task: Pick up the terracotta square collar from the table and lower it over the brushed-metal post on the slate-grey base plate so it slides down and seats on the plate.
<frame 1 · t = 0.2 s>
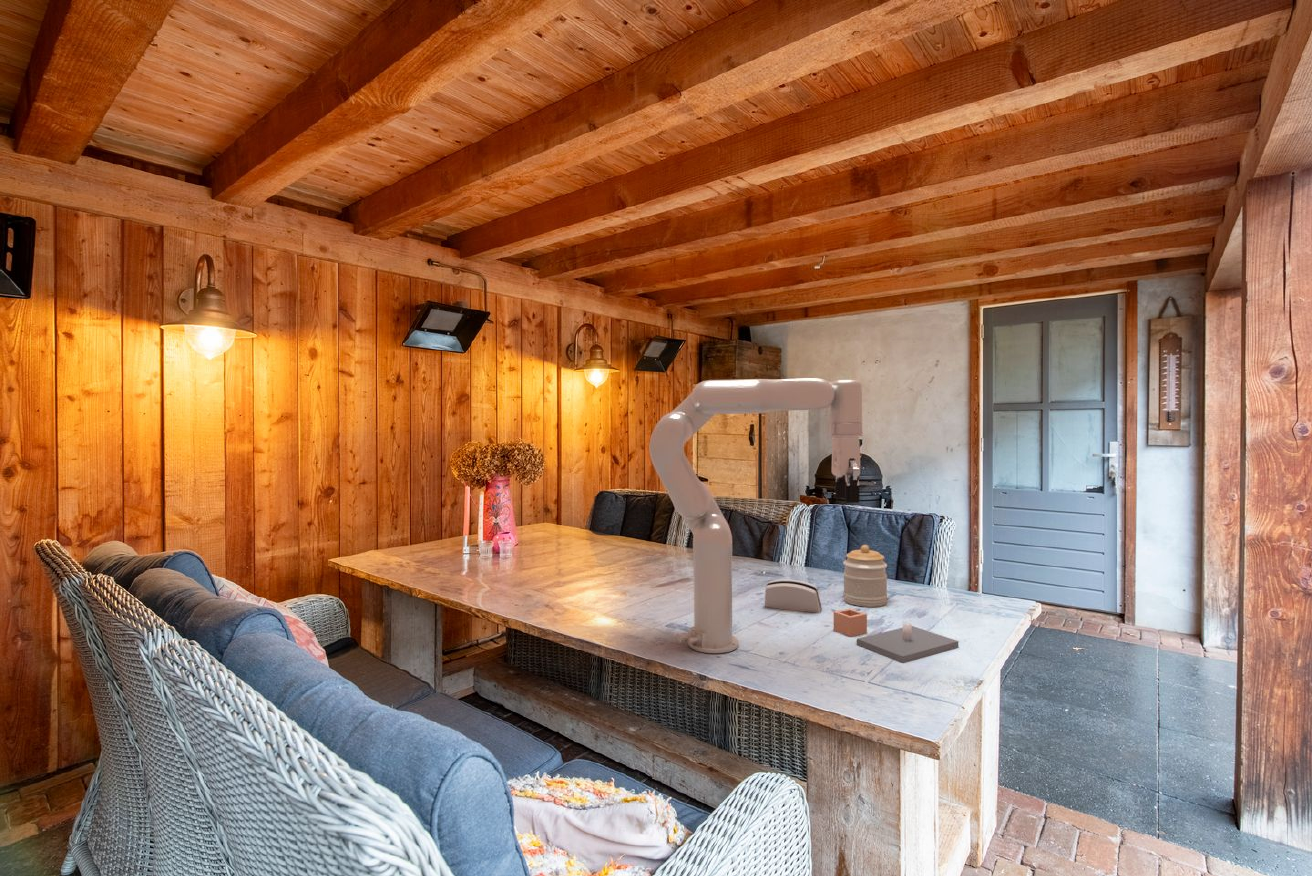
hand: (847, 499, 157), 37 cm above the table, tool pointing down, fingers open, 9 cm apart
post plate: (907, 646, 159), on the table
half-round card holder: (792, 609, 192), on the table
jar: (865, 602, 198), on the table
collar: (850, 631, 170), on the table
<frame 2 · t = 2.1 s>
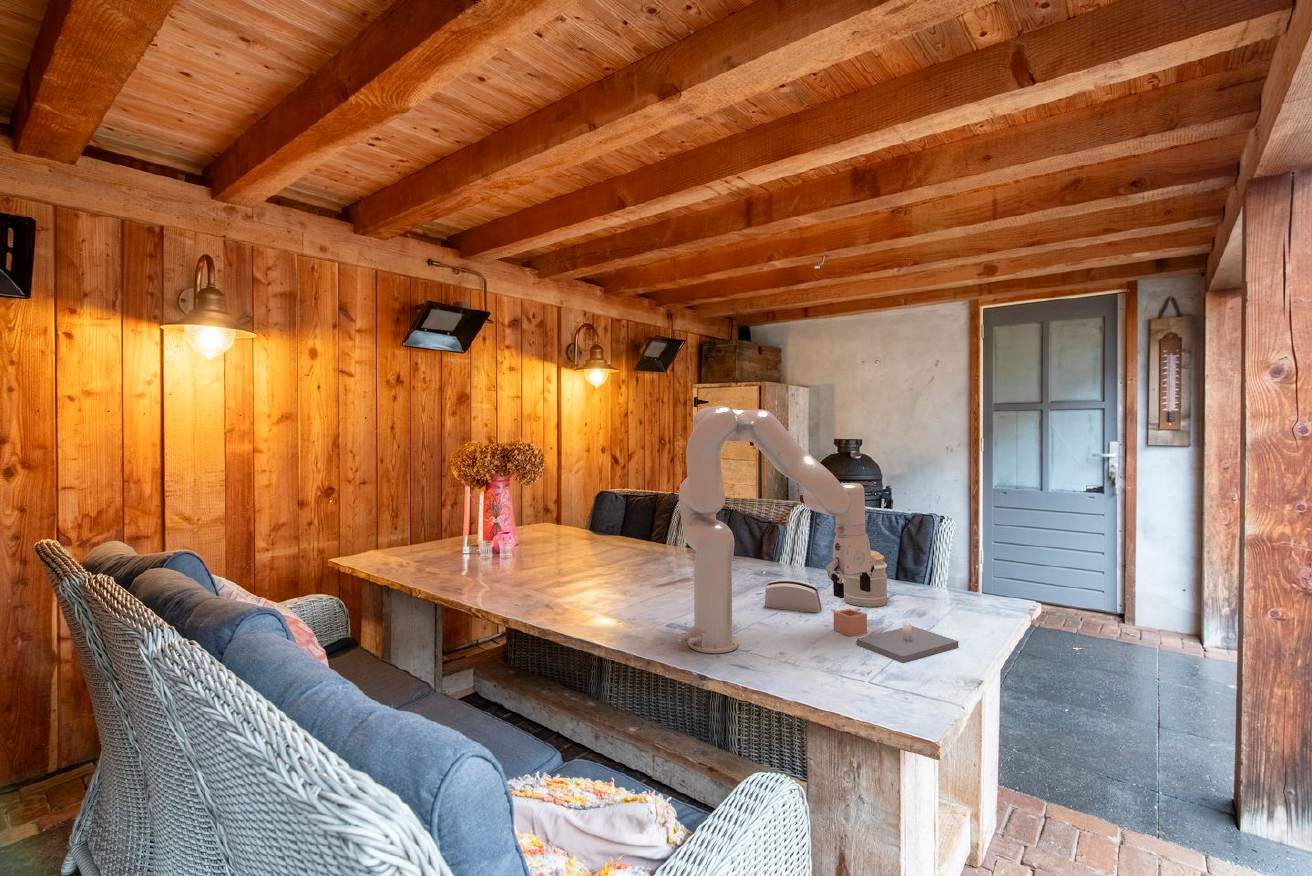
hand: (852, 594, 170), 10 cm above the table, tool pointing down, fingers open, 9 cm apart
nothing on the table moved.
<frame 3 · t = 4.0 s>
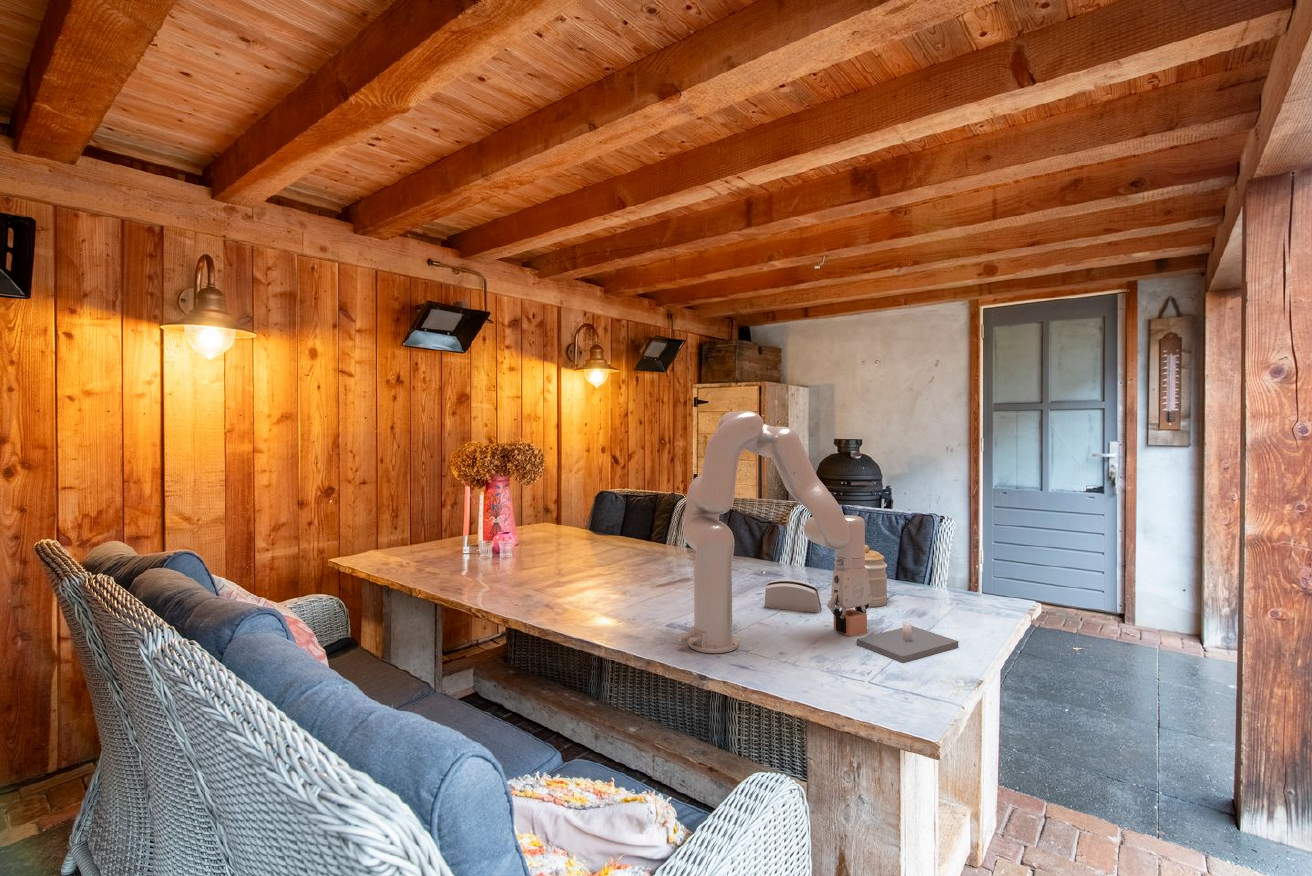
hand: (850, 629, 170), 1 cm above the table, tool pointing down, fingers closed on collar, 6 cm apart
collar: (850, 631, 170), on the table, touching gripper
everything else where it was.
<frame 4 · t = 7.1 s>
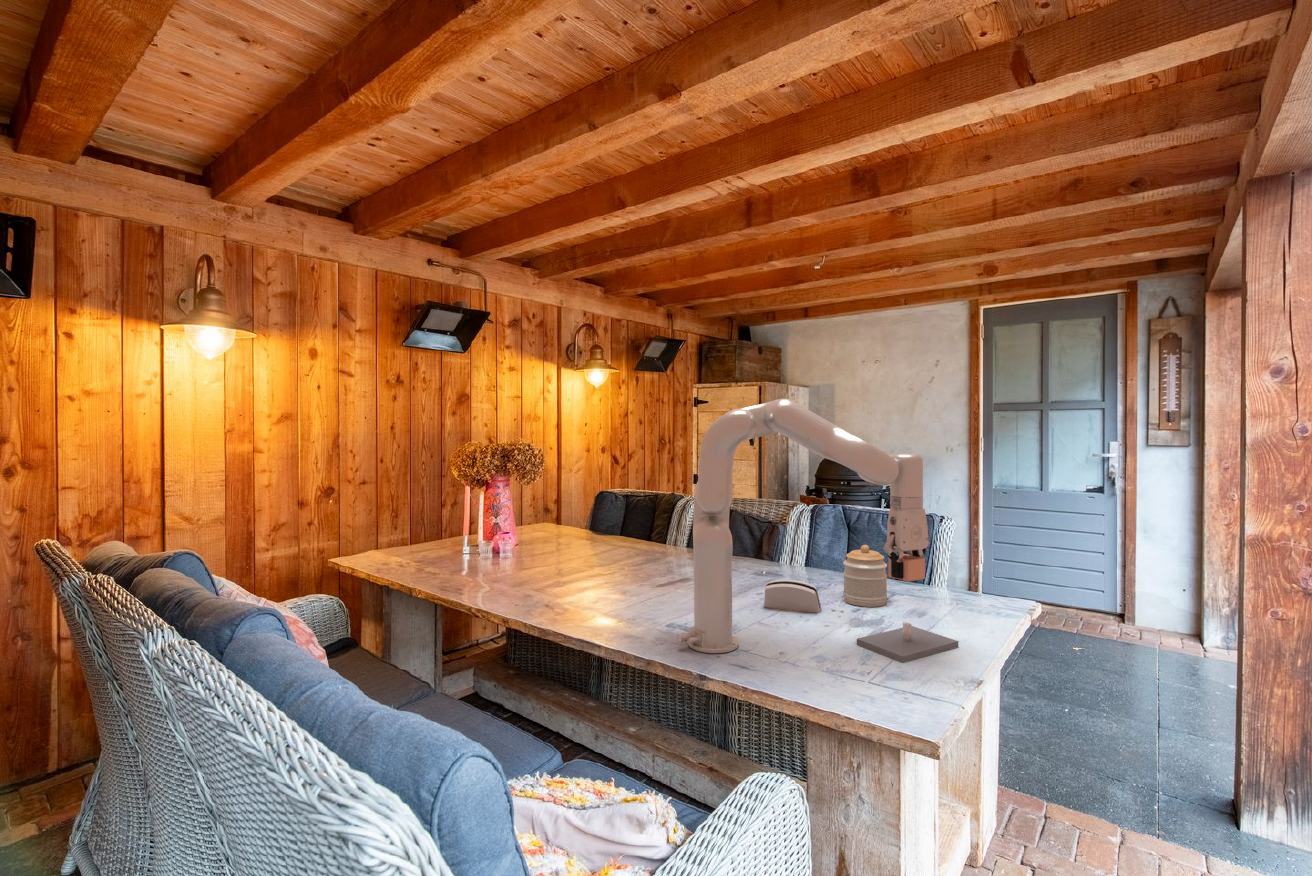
hand: (906, 575, 159), 18 cm above the table, tool pointing down, fingers closed on collar, 6 cm apart
collar: (906, 577, 159), point 17 cm above the table, touching gripper
everything else where it was.
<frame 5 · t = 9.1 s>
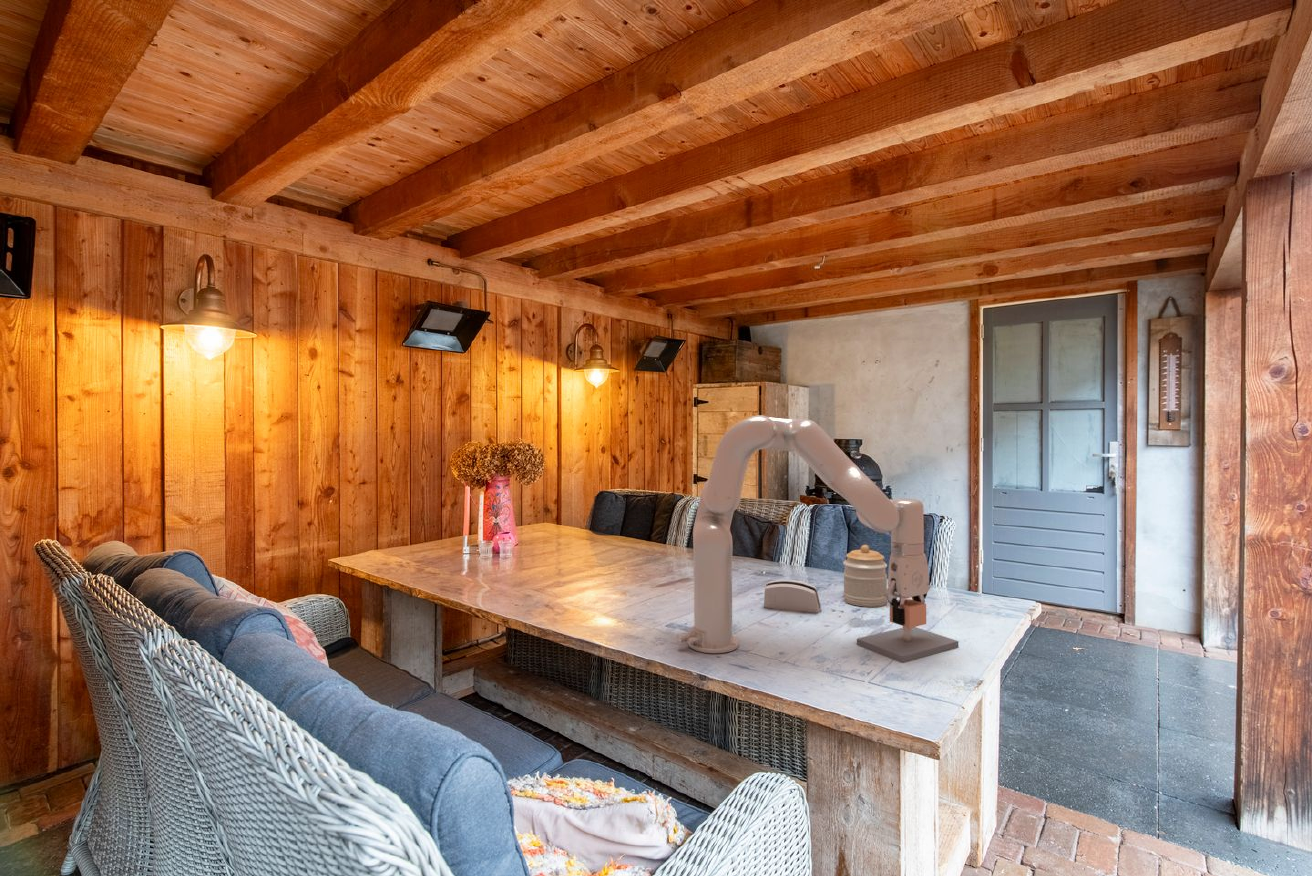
hand: (907, 620, 159), 6 cm above the table, tool pointing down, fingers closed on collar, 6 cm apart
collar: (907, 622, 159), point 6 cm above the table, touching gripper
everything else where it was.
when the fingers open (3 cm above the table, at t = 10.7 s): collar stays where it is, resting on post plate.
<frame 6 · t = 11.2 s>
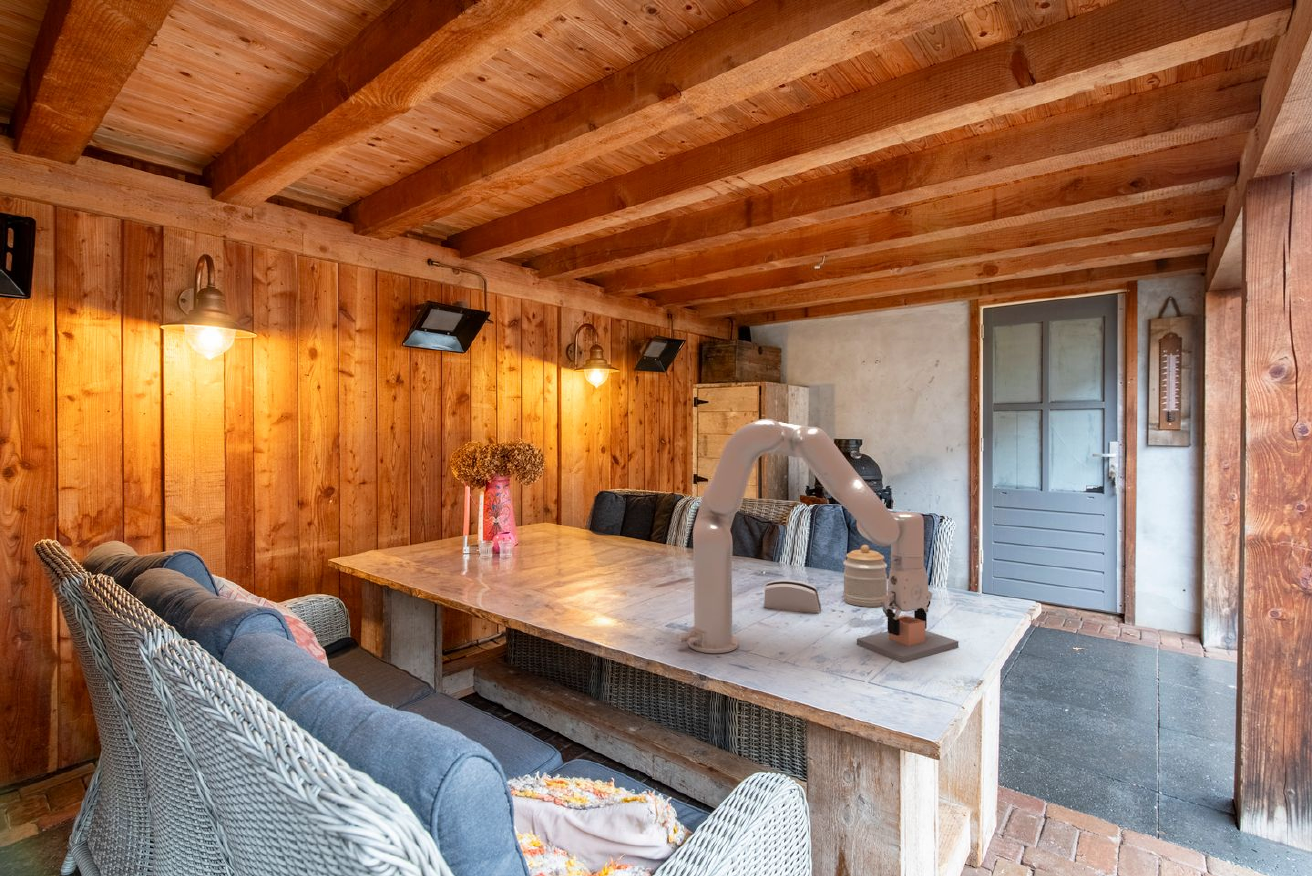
hand: (907, 630, 159), 4 cm above the table, tool pointing down, fingers open, 9 cm apart
collar: (906, 640, 159), point 1 cm above the table, touching post plate
everything else where it was.
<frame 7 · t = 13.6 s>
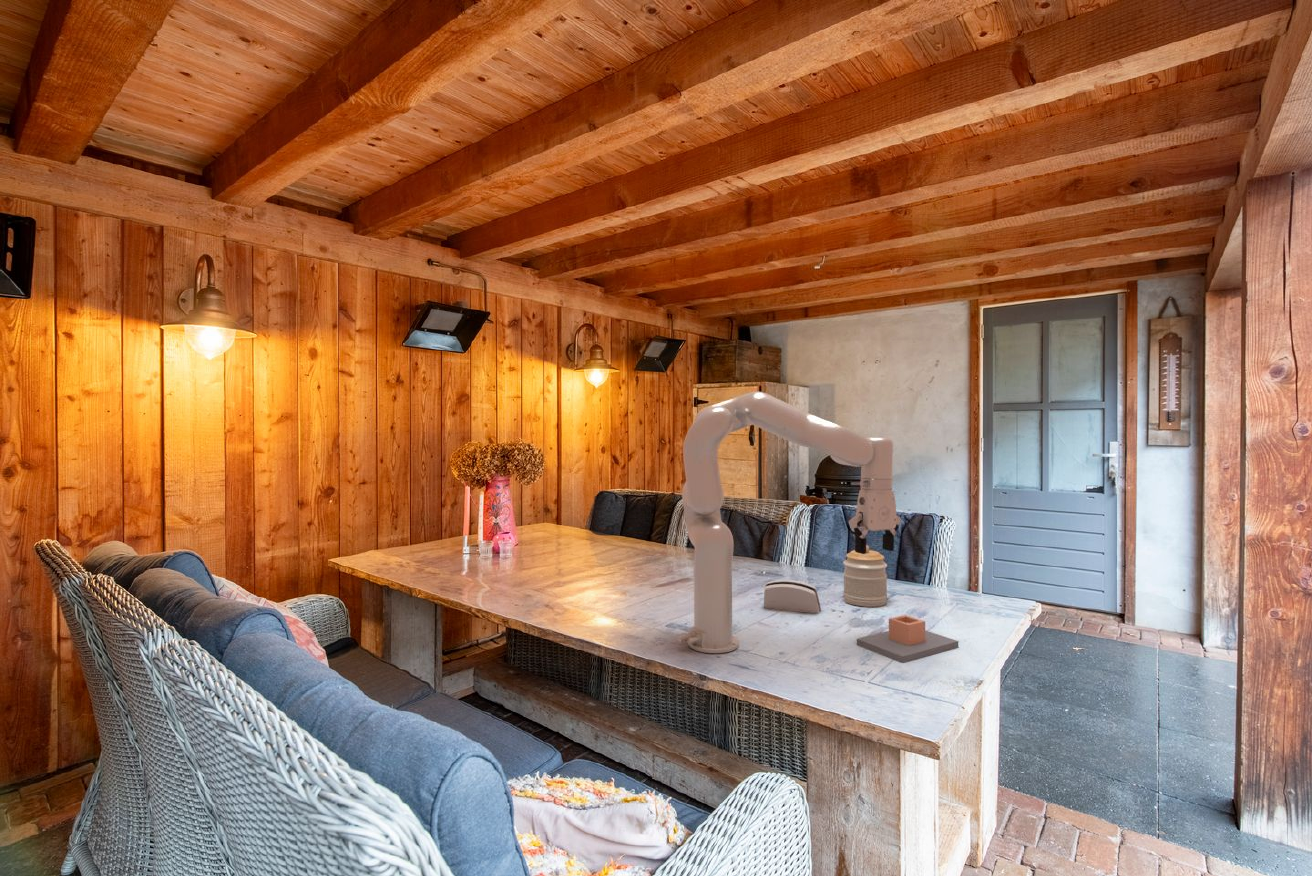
hand: (874, 551, 165), 22 cm above the table, tool pointing down, fingers open, 9 cm apart
nothing on the table moved.
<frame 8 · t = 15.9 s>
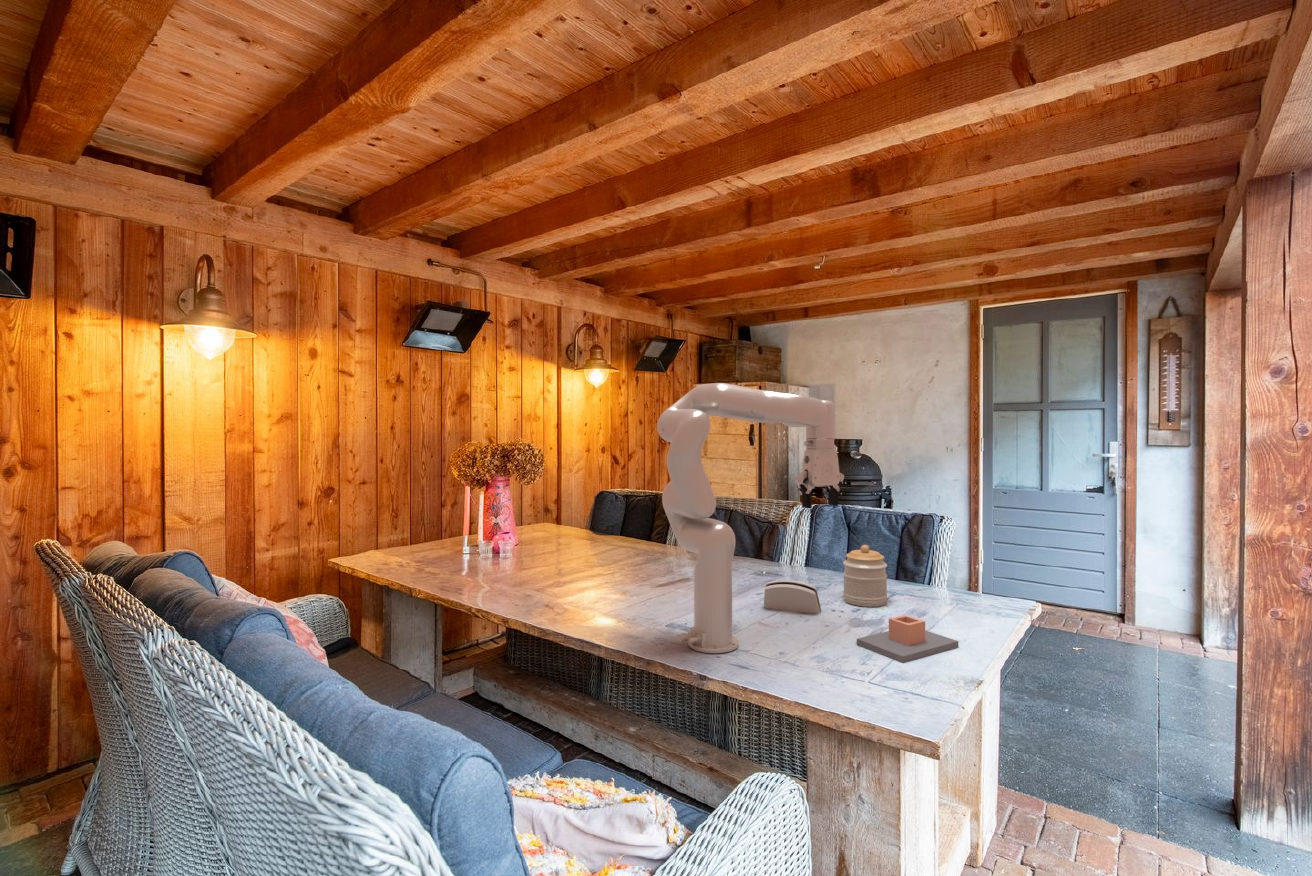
hand: (820, 506, 178), 32 cm above the table, tool pointing down, fingers open, 9 cm apart
at the end: collar 0.1 cm off-centre on the post plate, point 1.5 cm above the post plate's base; collar tilted 0°; the gripper is holding nothing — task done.
